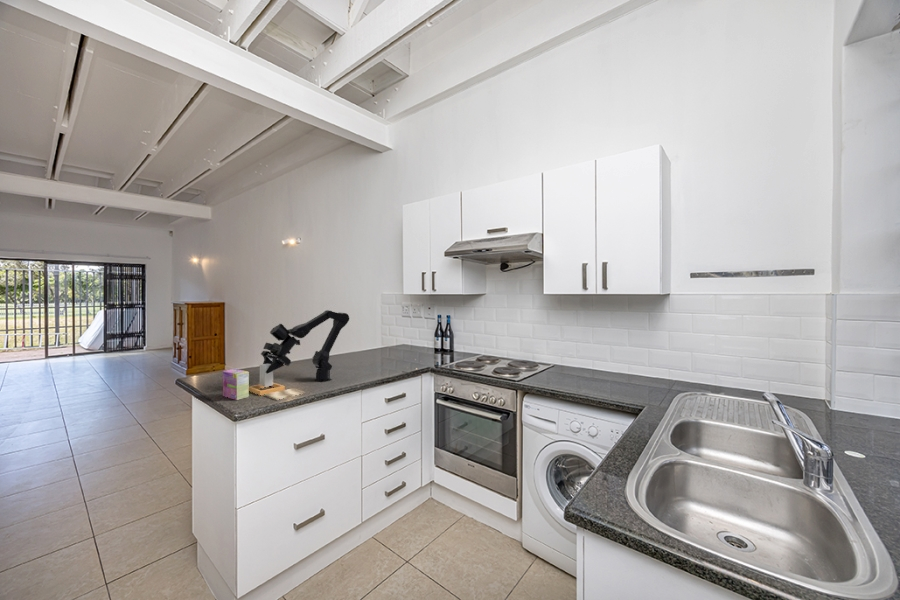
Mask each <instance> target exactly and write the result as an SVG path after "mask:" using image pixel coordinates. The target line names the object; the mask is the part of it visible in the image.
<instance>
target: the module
mask: <svg viewBox="0 0 900 600" xmlns="http://www.w3.org/2000/svg"><path fill="white" fill-rule="evenodd" d="M270 365H271V364H268V363H267V364H263V363H262V364H259V383H258V385H261V386H263V387H266V388H268V387H267V386H272V385H273V383H274V371H272V372H270V373H268V374H267V373H266V371H267V369H268V368H269V366H270Z"/></svg>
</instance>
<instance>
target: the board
mask: <svg viewBox="0 0 900 600" xmlns="http://www.w3.org/2000/svg"><path fill="white" fill-rule="evenodd" d="M303 393H306V392H305V391H304V390H300V389H297V388H293V387H291V388H288V389H286V388H285V390H282V391H277V392H273V393H268V394H265V395H264V397H266V396H267V397H266V398H269V397H270V399H271V398H272V399H271V400H275V401H279V399H280V400H284V399H288V398H292V397H295V395H297V396H300V395H299V394H301V395H303ZM283 398H284V399H283Z"/></svg>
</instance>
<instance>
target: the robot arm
mask: <svg viewBox="0 0 900 600" xmlns="http://www.w3.org/2000/svg"><path fill="white" fill-rule="evenodd" d="M329 319H332V328H331V329H330V331H329V333H328V335H327V337H326V339H325V341H324V343H323V345H322V347H321V349H320V350H319V351H318V350H316V351H314V355H313V356H312V357H311V358H312V363H313V365H314V366H315V368H316V372H315V379H314V381H317V382H321V383H323V381H324V382H327V381H331V380H332V378H331V373H330V372H331V370H332V367H333V365H332V364H331V363H330V362H329V360H330V352H331V351H332V349H333V346H334V345H335V343H336V341H337V338H338V336H339V335H340V332H341V330H342V329H343V328H344V327H345V326H346V325H347V324H348V322H349V321H350V315H349V314H348V313H347V312H346V313H345V312H336V311H332V310H330V309H329V310H328V309H327V310H324V311H323V312H322V313H320V314H318V315H317V316H315V317H313V318H311V319H310V320H308V321H307V322H305V323H301V324H298V325H296V326H293V327H292V328H290V329H287V328H286V326H285V325H283V324H282V323H279V324H278V325H275V326H274V327H273V328H272V329H271V330H270V332H269V334H270V335H272V337H273V338H274V339H276V340H278V341H281V343H277V342H274V343H271V342H265V344H264V346H263V350H262V351H261V353H260V355H261V356H262V358H263V362H262V364H267V363H268V364H271V365H270V366H269V368H268V369H267V371H266V373H267V374H268V373H270V372H272V371H273V372H274V371H275V370H278V369H280V368H282V367H285V366H287V367H289V366H290V365H291V364H292V360H291V359H290V358H289V357H288V356H287V355H290V354H291V350H292V349H293V348H294V346H295V345H296V346H301V340H300V339H303V338H305V337H306V336H307V335H308V334H309V333H310V332H311V330H313V329H315V328H316V327H318V326H319V325H321V324H323V323H324V322H326V321H328V320H329ZM297 338H298V339H297Z"/></svg>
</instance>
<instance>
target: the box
mask: <svg viewBox="0 0 900 600" xmlns="http://www.w3.org/2000/svg"><path fill="white" fill-rule="evenodd" d="M249 380H250V372H249V371H246V370H243V369H242V370H241V369H238V368H237V369H236V368H232V369H227V370H223V371H222V396H225V397H224V398H227V397H228V399H232V400H235V401H238V400H239V401H240V400H242V399H247V398H249V394H250V392H249V386H250V385H249V383H250V382H249Z"/></svg>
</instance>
